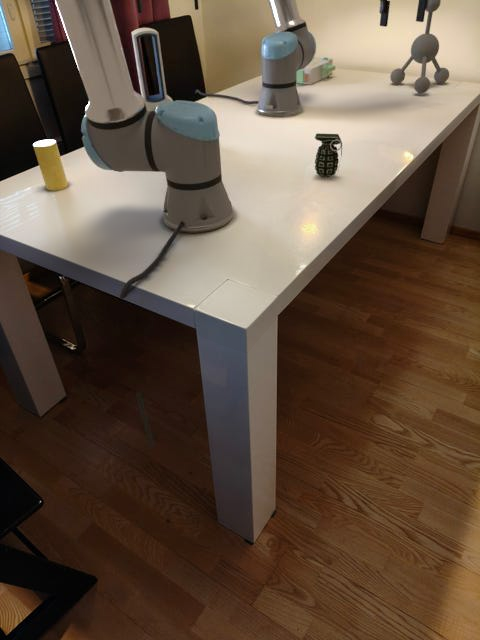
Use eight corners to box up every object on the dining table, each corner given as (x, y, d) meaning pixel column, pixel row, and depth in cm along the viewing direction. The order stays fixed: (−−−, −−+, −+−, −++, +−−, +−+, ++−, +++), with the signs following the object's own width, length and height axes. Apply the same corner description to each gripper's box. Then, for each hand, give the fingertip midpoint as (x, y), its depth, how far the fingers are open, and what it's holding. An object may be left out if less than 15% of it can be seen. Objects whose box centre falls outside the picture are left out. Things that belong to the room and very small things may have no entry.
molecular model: (468, 88, 182) (489, -8, 163) (419, 97, 176) (435, -2, 158) (427, 77, 199) (442, -12, 181) (381, 84, 193) (392, -7, 175)
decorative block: (301, 54, 217) (341, 57, 207) (300, 70, 221) (340, 74, 211) (269, 65, 201) (312, 69, 191) (269, 82, 205) (311, 87, 195)
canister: (72, 183, 127) (60, 140, 120) (57, 191, 123) (44, 147, 116) (56, 181, 129) (44, 138, 122) (41, 188, 125) (28, 145, 118)
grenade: (312, 179, 121) (313, 138, 114) (314, 171, 125) (316, 131, 119) (338, 181, 119) (342, 139, 113) (340, 172, 124) (344, 132, 117)
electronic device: (141, 147, 146) (122, 33, 128) (139, 140, 152) (119, 29, 134) (182, 142, 149) (168, 28, 130) (178, 135, 154) (164, 25, 136)
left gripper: (213, -108, 107) (220, 6, 120) (100, -101, 107) (119, 12, 120) (213, -111, 101) (220, 9, 114) (93, -104, 101) (114, 15, 114)
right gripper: (384, -62, 131) (375, 29, 144) (457, -67, 138) (442, 20, 151) (368, -61, 137) (360, 26, 150) (439, -66, 144) (426, 18, 157)
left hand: (168, 11), depth 117 cm, fingers open, 13 cm apart
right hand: (401, 23), depth 150 cm, fingers open, 13 cm apart
